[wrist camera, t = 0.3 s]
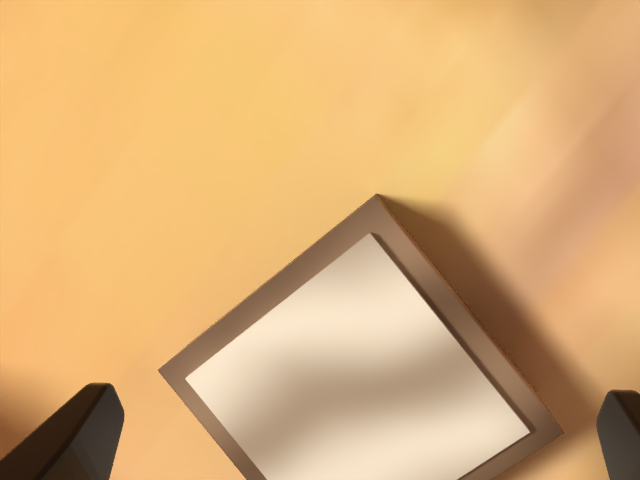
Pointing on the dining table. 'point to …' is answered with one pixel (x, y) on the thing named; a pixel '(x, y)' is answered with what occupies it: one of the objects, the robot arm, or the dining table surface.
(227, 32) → the dining table surface
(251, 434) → the stand
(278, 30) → the dining table surface
